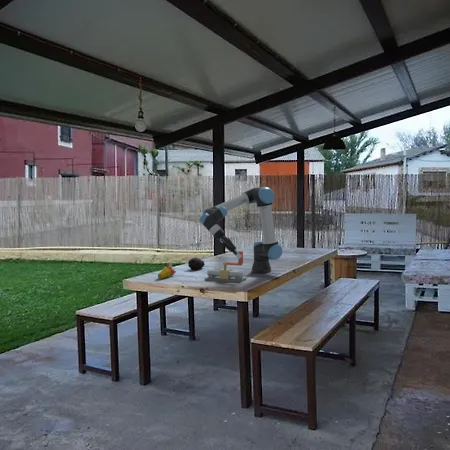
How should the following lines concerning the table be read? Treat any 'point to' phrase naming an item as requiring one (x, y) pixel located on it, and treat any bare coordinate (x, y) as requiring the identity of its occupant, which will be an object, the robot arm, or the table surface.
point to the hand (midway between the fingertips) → (240, 257)
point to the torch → (167, 272)
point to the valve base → (225, 275)
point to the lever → (240, 261)
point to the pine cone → (196, 264)
